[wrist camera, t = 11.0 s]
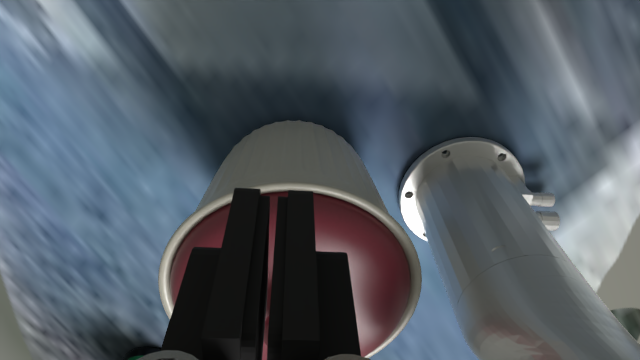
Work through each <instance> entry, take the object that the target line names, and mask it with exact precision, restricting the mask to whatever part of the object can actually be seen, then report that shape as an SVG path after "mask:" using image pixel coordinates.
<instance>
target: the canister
mask: <svg viewBox="0 0 640 360" xmlns="http://www.w3.org/2000/svg"><path fill="white" fill-rule="evenodd" d="M235 188H253V189H260V190H261V196H270V219H269V254H268V289H267V306H266V318H265V330H264V343H263V355H262V360H267V345H268V327H269V312H270V299H271V285H272V271H273V258H274V244H275V230H276V216H277V203H278V196H283V197H288V190H296V191H313V198H314V220H315V242H316V251H321V252H346V253H347V256H348V261H349V269H350V276H351V284H352V291H353V299H354V306H355V314H356V321H357V329H358V336H359V344H360V351H361V356H362V357H366V358H369V357H371V356H372V355H374V354H376V353H377V352H379V351H380V350H381V349H383V348H384V347H385V346H387V345H388V344H389V343H390V342H391V341H392V340H394V339H395V338H396V337H397V336H398V334H399V333H400V332H401V331H402V330H403V328H404V327H405V326H406V324H407V323H408V321H409V320H410V318H411V317H412V315H413V313H414V311H415V308H416V306H417V303H418V300H419V296H420V292H421V282H422V276H421V267H420V262H419V258H418V255H417V252H416V250H415V247H414V245H413V243H412V241H411V240H410V238H409V236H408V235H407V233H406V232H405V230H404V229H403V228H402V227H401V226H400V224H399V223H398V222H397V221H396V220H395V219H394V218H393V217H392V216H391V215H389V213H388V211H387V209H386V207H385V205H384V203H383V201H382V199H381V197H380V195H379V193H378V191H377V189H376V187H375V185H374V183H373V181H372V179H371V177H370V175H369V173H368V171H367V169H366V167H365V165H364V164H363V162H362V160H361V158H360V157H359V155H358V154H357V153H356V152H355V150H354V149H353V147H352V146H351V145H350V144H349V143H347V142H346V141H345V140H344V138H343V137H341V136H339V135H337V134H336V133H335V132H334V131H333V130H330V129H327V128H325V127H324V126H322V125H317V124H314V123H312V122H303V121H300V120H297V121H289V120H286V121H283V122H275V123H273V124H270V125H264V126H263V127H261V128H259V129H256V130H253V131H252V133H251V134H249V135H247V136H245V137H243V138H242V140H241V141H240V142H239V143H238V144H236V145H235V146H234V147H233V149H232V150H231V152H230V153H229V154H228V155H227V157H226V158H225V160H224V161H223V163H222V165H221V166H220V168H219V170H218V171H217V173H216V174H215V176H214V178H213V180H212V182H211V183H210V185H209V187H208V189H207V191H206V192H205V194H204V196H203V198H202V200H201V202H200V203H199V205H198V207H197V209H196V211H195V212H194V213H192V214H191V215H190V216H189V217H188V218H187V219H186V220H185V221H184V222H183V223H182V224H181V225H180V226H179V227H178V229H177V230H176V231H175V233H174V234H173V235H172V237H171V239H170V240H169V242H168V244H167V246H166V248H165V251H164V253H163V256H162V259H161V263H160V268H159V277H158V283H159V292H160V297H161V301H162V304H163V307H164V309H165V311H166V313H167V315H168V317H169V319H170V318H171V315H172V312H173V309H174V305H175V302H176V299H177V296H178V292H179V289H180V286H181V282H182V279H183V276H184V273H185V269H186V266H187V263H188V260H189V256H190V253H191V251H192V249H193V248H194V247H213V248H221V246H222V242H223V237H224V233H225V229H226V224H227V220H228V215H229V211H230V206H231V202H232V197H233V193H234V189H235Z"/></svg>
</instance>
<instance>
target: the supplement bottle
mask: <svg viewBox="0 0 640 360" xmlns="http://www.w3.org/2000/svg"><path fill="white" fill-rule="evenodd" d="M158 351H161V349H158V348H154V347H140V348H136V349H134V350H132V351H130V352H128V353H127V354H126V355H125V357H124V358H123V360H137V359H139V358H141V357H143V356H145V355H147V354H150V353H154V352H158Z"/></svg>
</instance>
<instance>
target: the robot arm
mask: <svg viewBox="0 0 640 360" xmlns="http://www.w3.org/2000/svg"><path fill="white" fill-rule="evenodd" d="M444 150H445V151H444ZM443 151H444V152H443ZM407 191H408V192H407ZM554 203H555V196H554V194H553V193H544V192H539V193H531V191H530V190H528V189H527V187H526V186H525V176H524V173H523V169H522V167H521V165H520V164H519V162H518V160H517V159H516V158H515V156H514V155H513V154H512V153H511V152H510V151H509V150H508V149H506V148H505V147H504V146H503V145H501V144H499V143H497V142H495V141H493V140H489V139H485V138H479V137H464V138H456V139H452V140H449V141H446V142H443V143H441V144H438V145H436V146H434V147H432V148H431V149H429V150H428V151H426V152H425V153H423V154H422V155H421V156H420V157H419V158H418V159H417V160H416V161H414V162H413V164H412V165H411V166H410V168H409V169H408V170H407V172H406V173H405V176H404V178H403V180H402V182H401V185H400V189H399V206H400V211H401V214H402V217H403V219H404V221H405V223H406V224H407V226H408V228H409V229H410V230H411V231H412V232H413V233H414V234H415V235H417V236H418V237H420V238H421V239H423V240H426V241H428V243H429V246H430V249H431V252H432V254H433V257H434V260H435V262H436V265H437V268H438V270H439V273H440V276H441V279H442V281H443V284H444V287H445V289H446V292H447V295H448V297H449V300H450V303H451V306H452V308H453V311H454V314H455V316H456V319H457V322H458V324H459V327H460V329H461V332H462V335H463V337H464V339H465V341H466V343H467V345H468V346H469V348H470V349H471V351H472V352H473V353H474V354H475V355H476V356H477V357H478V359H479V360H640V344H639V343H638V342H637V341H636V340H635V339H634V338H633V337H632V336H631V335H630V334H629V332H628V331H627V330H626V329H625V328H624V327H623V326H622V325H621V324H620V322H619V321H618V320H617V319H616V317H615V316H614V315H613V314H612V312H611V311H610V310H609V309H608V307H607V306H606V305H605V304H604V303H603V301H602V300H601V299H600V298H599V296H598V295H597V294H596V293H595V291H594V290H593V289H592V287H591V286H590V285H589V283H588V282H587V281H586V279H585V278H584V277H583V275H582V274H581V273H580V271H579V270H578V269H577V268H576V267H575V265H574V264H573V263H572V261H571V260H570V259H569V257H568V256H567V255H566V253H565V252H564V250H563V249H562V248H561V246H560V245H559V244H558V242H557V241H556V240H555V238H554V237H553V236H552V234H551V233H550V232H549V231H555V230H557V229H558V227H559V224H560V219H559V215H558V213H556V212H550V211H536V212H534V210H533V209H532V208H531V205H535V206H543V207H552V206H553V205H554ZM269 219H270V196H261V190H260V189H253V188H235V189H234V193H233V197H232V202H231V206H230V211H229V215H228V220H227V224H226V229H225V233H224V237H223V242H222V246H221V248H213V247H194V248H193V249H192V251H191V253H190V256H189V260H188V263H187V266H186V269H185V273H184V276H183V279H182V282H181V286H180V289H179V292H178V296H177V299H176V302H175V305H174V309H173V312H172V315H171V318H170V322H169V325H168V328H167V331H166V335H165V338H164V341H163V344H162V348H161V351H158V352H154V353H150V354H147V355H145V356H143V357H141V358H139V359H137V360H262V355H263V343H264V330H265V318H266V306H267V289H268V254H269ZM267 360H370V359H369V358H366V357H362V356H361V351H360V344H359V336H358V329H357V321H356V314H355V306H354V299H353V291H352V284H351V276H350V269H349V261H348V256H347V253H346V252H321V251H316V242H315V220H314V198H313V191H296V190H288V197H283V196H278V203H277V216H276V230H275V244H274V258H273V271H272V285H271V299H270V312H269V327H268V345H267Z"/></svg>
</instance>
